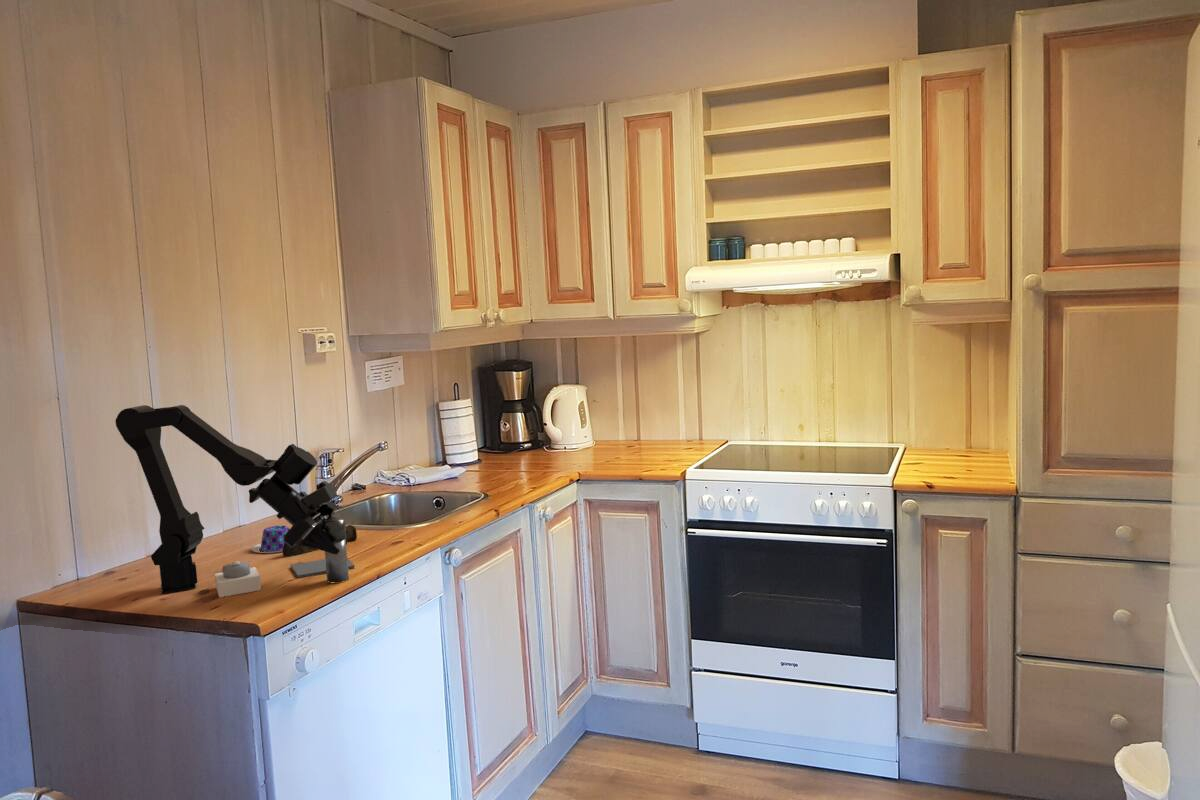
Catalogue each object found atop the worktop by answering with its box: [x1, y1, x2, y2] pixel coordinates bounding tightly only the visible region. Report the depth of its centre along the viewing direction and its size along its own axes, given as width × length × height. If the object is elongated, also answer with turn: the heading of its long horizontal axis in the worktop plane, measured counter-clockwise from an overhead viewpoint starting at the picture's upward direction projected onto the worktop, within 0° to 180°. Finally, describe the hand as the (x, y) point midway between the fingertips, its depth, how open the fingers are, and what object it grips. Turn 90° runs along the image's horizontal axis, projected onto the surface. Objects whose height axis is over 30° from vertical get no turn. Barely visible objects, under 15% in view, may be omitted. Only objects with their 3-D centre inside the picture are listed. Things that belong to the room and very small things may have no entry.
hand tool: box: [282, 524, 358, 557], centre depth 217 cm, size 19×4×5 cm, turn 135°
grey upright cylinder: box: [322, 516, 350, 583], centre depth 188 cm, size 5×5×13 cm
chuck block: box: [214, 561, 262, 598], centre depth 186 cm, size 8×8×6 cm
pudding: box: [251, 525, 290, 554], centre depth 219 cm, size 12×12×5 cm
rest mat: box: [290, 557, 355, 579], centre depth 199 cm, size 12×10×1 cm
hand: (342, 549), depth 188 cm, fingers open, 5 cm apart
